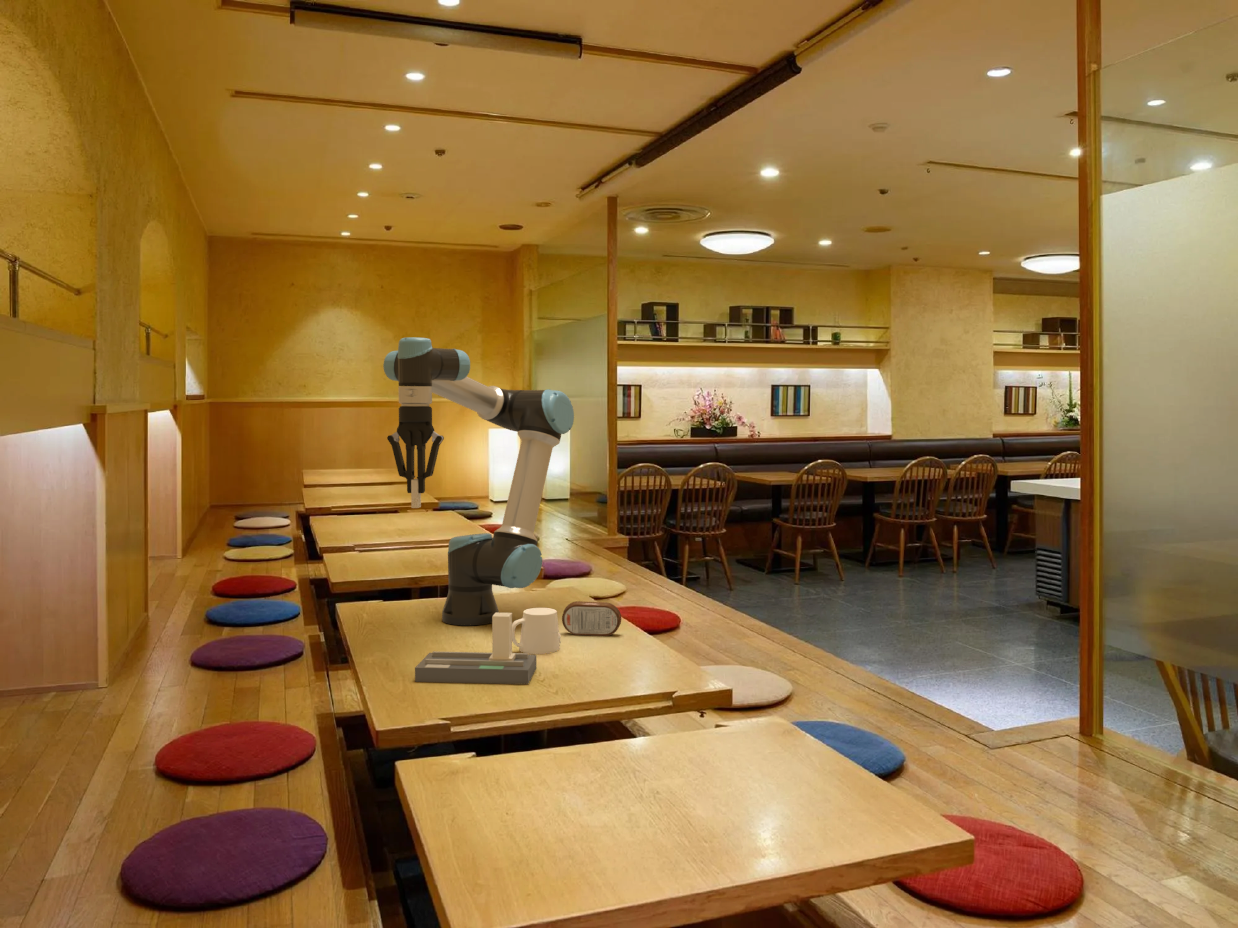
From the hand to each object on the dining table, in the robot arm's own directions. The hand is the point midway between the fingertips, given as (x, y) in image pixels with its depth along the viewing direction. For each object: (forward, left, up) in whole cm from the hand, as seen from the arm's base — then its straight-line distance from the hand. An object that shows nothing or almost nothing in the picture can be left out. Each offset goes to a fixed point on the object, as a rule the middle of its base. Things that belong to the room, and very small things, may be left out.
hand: (416, 507), depth 220 cm
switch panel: (+16, +18, -34) cm, 42 cm away
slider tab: (+16, +23, -31) cm, 42 cm away
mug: (-5, +27, -35) cm, 44 cm away
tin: (-21, +39, -35) cm, 56 cm away
